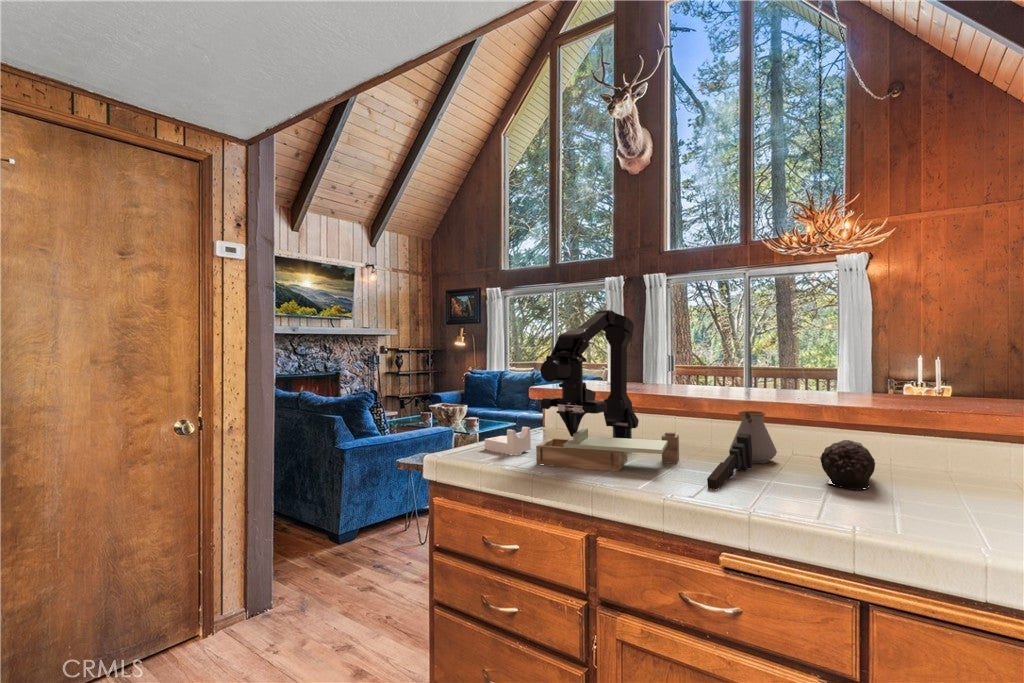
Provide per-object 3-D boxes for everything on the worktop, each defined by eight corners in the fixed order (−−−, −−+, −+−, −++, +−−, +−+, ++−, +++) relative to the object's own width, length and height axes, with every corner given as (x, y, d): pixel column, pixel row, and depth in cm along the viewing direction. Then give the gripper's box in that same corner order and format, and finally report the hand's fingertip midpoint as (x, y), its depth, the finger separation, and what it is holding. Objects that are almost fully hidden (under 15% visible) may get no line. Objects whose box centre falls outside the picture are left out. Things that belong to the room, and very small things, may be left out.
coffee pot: (732, 454, 149) (731, 401, 149) (778, 457, 144) (777, 402, 144) (722, 471, 131) (721, 411, 131) (773, 476, 125) (772, 413, 125)
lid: (576, 439, 149) (576, 427, 149) (667, 444, 140) (667, 431, 140) (563, 447, 138) (563, 434, 138) (661, 453, 129) (661, 440, 129)
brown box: (551, 455, 152) (550, 438, 152) (627, 460, 144) (627, 442, 144) (535, 465, 141) (535, 446, 141) (617, 472, 132) (617, 452, 132)
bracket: (530, 452, 158) (530, 427, 158) (513, 456, 153) (512, 430, 153) (502, 446, 167) (501, 423, 167) (485, 450, 163) (484, 426, 163)
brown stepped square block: (664, 459, 145) (663, 430, 145) (679, 460, 143) (678, 431, 143) (662, 462, 141) (661, 433, 141) (677, 463, 140) (677, 434, 140)
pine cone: (871, 474, 125) (870, 432, 125) (878, 495, 110) (877, 446, 109) (820, 470, 130) (819, 429, 130) (820, 488, 115) (819, 442, 115)
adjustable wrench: (708, 508, 118) (742, 463, 136) (720, 510, 116) (753, 465, 135) (704, 473, 116) (739, 433, 135) (717, 475, 115) (750, 434, 133)
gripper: (617, 378, 143) (618, 436, 143) (562, 376, 156) (563, 429, 156) (594, 381, 135) (595, 442, 135) (538, 378, 147) (539, 434, 148)
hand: (573, 436), depth 144 cm, fingers closed
